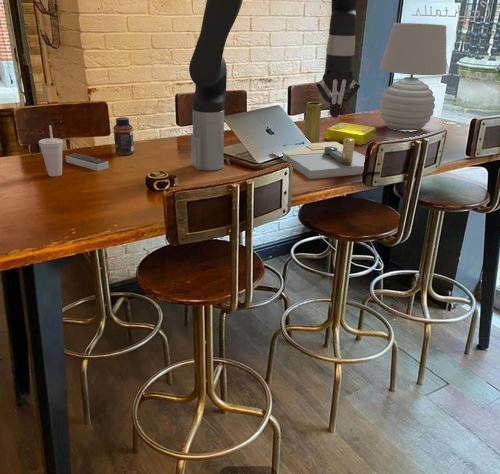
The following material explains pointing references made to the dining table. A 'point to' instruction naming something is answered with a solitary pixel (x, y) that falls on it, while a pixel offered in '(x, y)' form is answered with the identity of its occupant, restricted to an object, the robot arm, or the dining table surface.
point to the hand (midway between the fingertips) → (334, 116)
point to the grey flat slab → (322, 161)
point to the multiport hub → (87, 161)
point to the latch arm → (347, 151)
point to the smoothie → (52, 154)
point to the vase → (312, 121)
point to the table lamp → (412, 73)
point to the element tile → (350, 133)
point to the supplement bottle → (123, 137)
